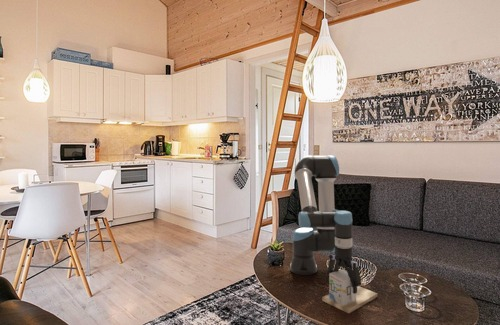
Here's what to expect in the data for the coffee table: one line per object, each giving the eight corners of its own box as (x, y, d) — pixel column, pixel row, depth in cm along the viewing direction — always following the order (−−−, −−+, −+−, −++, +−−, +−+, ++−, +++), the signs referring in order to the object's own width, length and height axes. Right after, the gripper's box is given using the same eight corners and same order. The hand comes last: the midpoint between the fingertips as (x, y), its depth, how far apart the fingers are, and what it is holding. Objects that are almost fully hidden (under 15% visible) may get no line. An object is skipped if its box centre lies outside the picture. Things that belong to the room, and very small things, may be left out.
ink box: (328, 297, 140) (328, 272, 139) (342, 292, 144) (342, 268, 143) (342, 306, 132) (342, 279, 132) (356, 300, 136) (356, 275, 136)
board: (322, 300, 140) (322, 297, 140) (351, 286, 154) (351, 283, 154) (348, 313, 129) (348, 309, 129) (377, 296, 143) (377, 293, 143)
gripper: (318, 242, 143) (319, 289, 145) (360, 254, 126) (360, 308, 127) (329, 238, 148) (329, 284, 149) (370, 250, 131) (370, 302, 132)
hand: (343, 295), depth 138 cm, fingers open, 9 cm apart
